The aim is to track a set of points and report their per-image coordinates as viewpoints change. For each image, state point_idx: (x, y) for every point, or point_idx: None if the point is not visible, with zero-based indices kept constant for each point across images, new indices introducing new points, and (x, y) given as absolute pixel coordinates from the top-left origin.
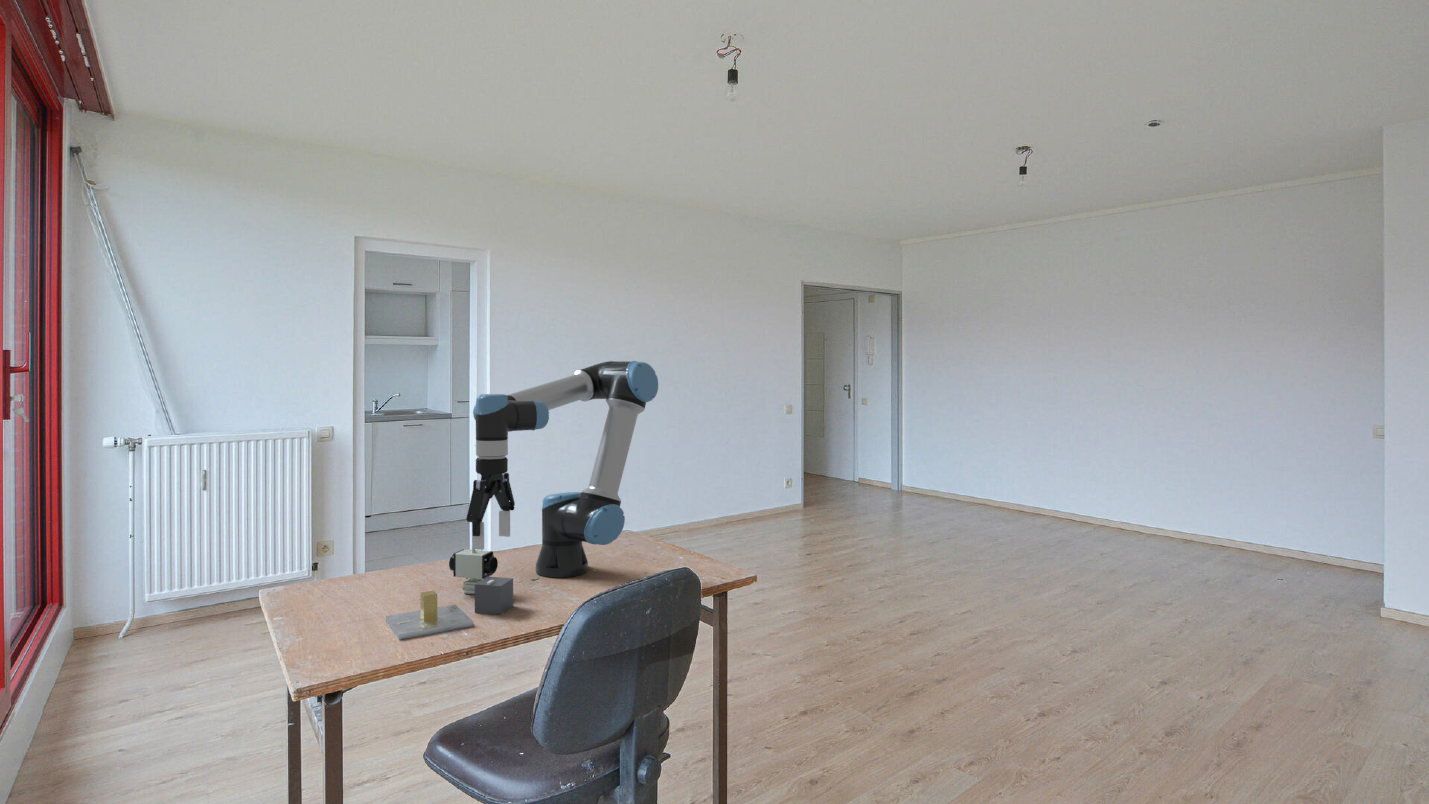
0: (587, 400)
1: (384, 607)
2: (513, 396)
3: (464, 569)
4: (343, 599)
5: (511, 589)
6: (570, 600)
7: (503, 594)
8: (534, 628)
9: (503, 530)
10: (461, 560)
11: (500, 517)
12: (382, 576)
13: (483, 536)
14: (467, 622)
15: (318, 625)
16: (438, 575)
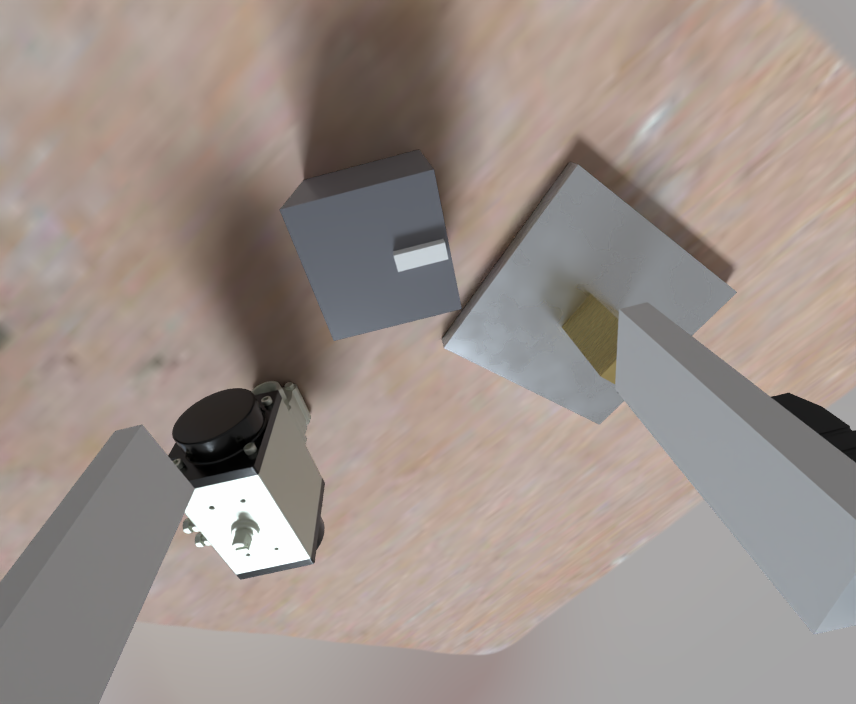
0: None
1: (502, 484)
2: None
3: (305, 477)
4: (488, 567)
5: (308, 192)
6: None
7: (398, 168)
8: None
9: (147, 506)
10: (304, 516)
11: (94, 676)
12: (326, 618)
13: (716, 374)
14: (591, 175)
15: (646, 494)
16: None
